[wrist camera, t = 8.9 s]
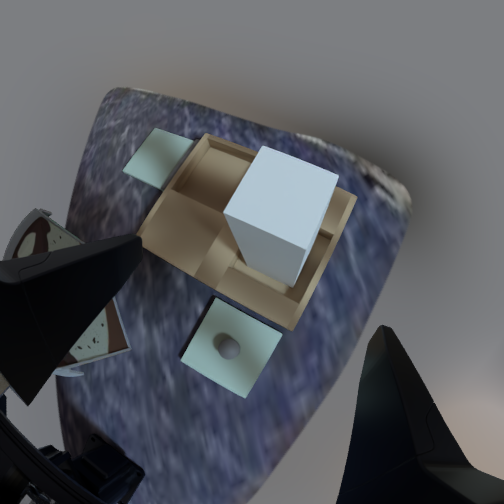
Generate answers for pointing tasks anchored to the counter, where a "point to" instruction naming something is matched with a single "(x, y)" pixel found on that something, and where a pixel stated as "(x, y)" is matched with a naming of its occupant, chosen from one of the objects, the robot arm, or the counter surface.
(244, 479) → the counter surface
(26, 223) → the food container
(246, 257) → the tall white block
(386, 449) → the robot arm
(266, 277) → the puzzle board
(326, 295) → the counter surface
